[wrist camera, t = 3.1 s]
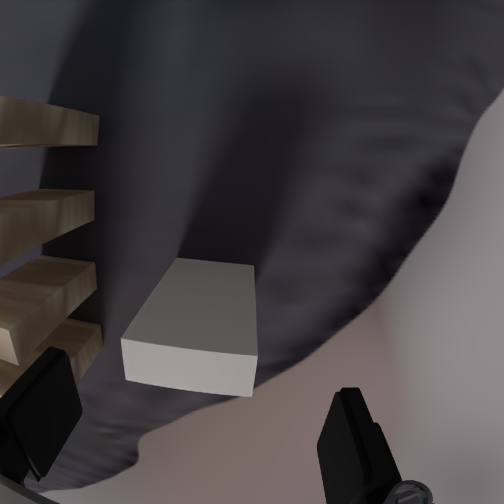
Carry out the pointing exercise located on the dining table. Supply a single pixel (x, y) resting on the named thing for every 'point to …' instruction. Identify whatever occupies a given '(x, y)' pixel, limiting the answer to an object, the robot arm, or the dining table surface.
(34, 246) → the domino
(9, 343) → the domino
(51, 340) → the domino
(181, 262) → the end domino
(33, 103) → the domino
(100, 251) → the dining table surface
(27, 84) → the dining table surface
